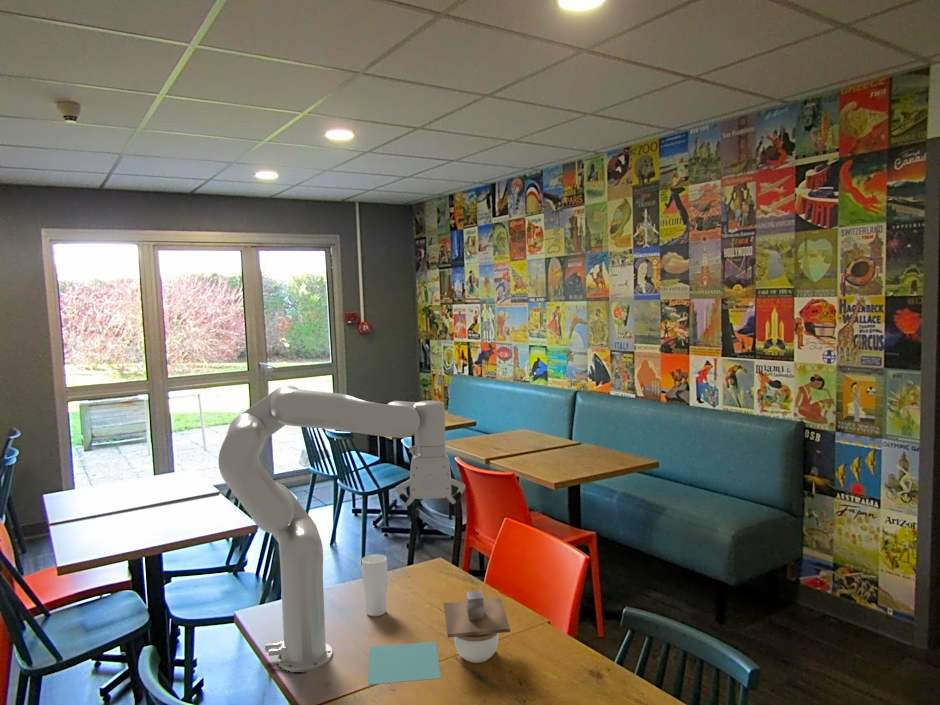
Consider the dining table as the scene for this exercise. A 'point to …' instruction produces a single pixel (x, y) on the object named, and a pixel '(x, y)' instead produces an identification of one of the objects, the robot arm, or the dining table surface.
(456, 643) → the lidded jar
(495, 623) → the walnut cover
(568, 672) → the dining table surface
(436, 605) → the dining table surface
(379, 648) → the teal mat
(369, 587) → the drinking glass
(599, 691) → the dining table surface
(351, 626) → the dining table surface
